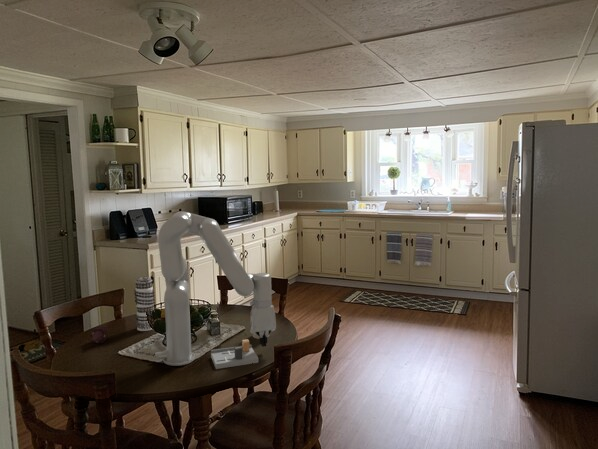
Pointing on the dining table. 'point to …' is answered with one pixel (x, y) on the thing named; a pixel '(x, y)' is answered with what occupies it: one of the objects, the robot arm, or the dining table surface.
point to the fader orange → (245, 345)
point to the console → (232, 357)
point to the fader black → (238, 352)
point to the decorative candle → (143, 302)
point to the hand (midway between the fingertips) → (263, 345)
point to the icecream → (99, 335)
